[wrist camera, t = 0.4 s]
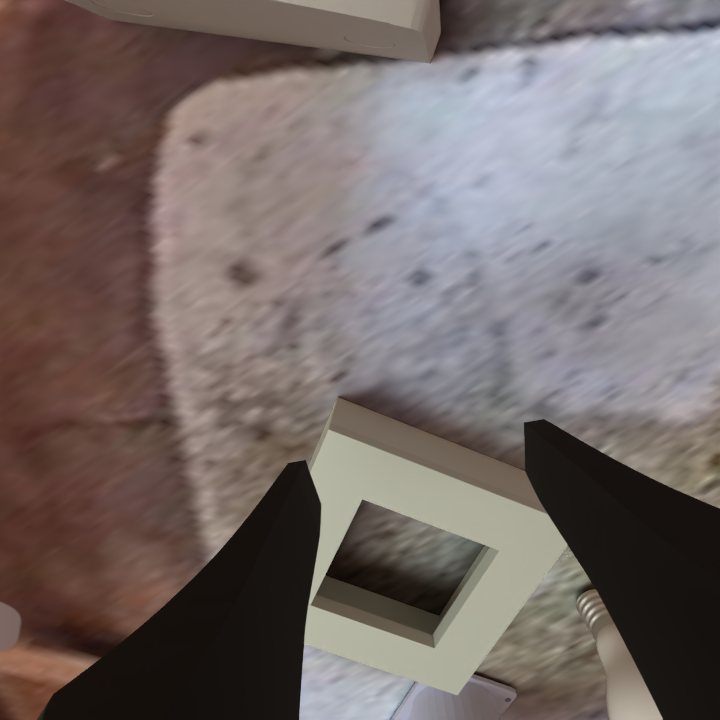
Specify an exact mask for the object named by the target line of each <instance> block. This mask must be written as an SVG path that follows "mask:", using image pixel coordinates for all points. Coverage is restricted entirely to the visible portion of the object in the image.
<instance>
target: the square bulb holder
mask: <svg viewBox="0 0 720 720" xmlns="http://www.w3.org/2000/svg"><path fill="white" fill-rule="evenodd" d="M308 469H309V471H310V474H311V477H312V480H313V482H314V485H315V488H316V491H317V493H318V496H319V499H320V502H321V527H320V538H319V545H318V551H317V557H316V563H315V569H314V575H313V581H312V587H311V593H310V599H309V605H308V611H307V618H306V626H305V638H304V644H307V645H310V646H313V647H315V648H318V649H321V650H324V651H327V652H330V653H333V654H336V655H339V656H342V657H345V658H348V659H351V660H354V661H357V662H360V663H363V664H366V665H369V666H372V667H375V668H378V669H381V670H384V671H387V672H389V673H392V674H395V675H398V676H401V677H404V678H407V679H410V680H413V681H416V682H419V683H422V684H425V685H428V686H431V687H434V688H437V689H440V690H443V691H446V692H449V693H452V694H455V695H458V694H459V692H460V691H461V690H462V688H463V687H464V686H465V684H466V683H467V682H468V680H469V679H470V678H471V676H472V675H473V673H474V672H475V671H476V669H477V668H478V667H479V665H480V664H481V663H482V661H483V660H484V658H485V657H486V656H487V654H488V653H489V652H490V650H491V649H492V648H493V646H494V645H495V644H496V642H497V641H498V639H499V638H500V637H501V635H502V634H503V633H504V631H505V630H506V629H507V627H508V626H509V625H510V623H511V622H512V620H513V619H514V618H515V616H516V615H517V614H518V612H519V611H520V610H521V608H522V607H523V605H524V604H525V603H526V601H527V600H528V599H529V597H530V596H531V595H532V593H533V592H534V591H535V589H536V588H537V586H538V585H539V584H540V582H541V581H542V580H543V578H544V577H545V576H546V574H547V573H548V571H549V570H550V569H551V567H552V566H553V565H554V563H555V562H556V561H557V559H558V558H559V557H560V555H561V554H562V552H563V551H564V550H565V548H566V547H567V546H568V545H567V543H566V542H565V540H564V538H563V537H562V535H561V534H560V532H559V531H558V529H557V528H556V526H555V525H554V523H553V522H552V520H551V518H550V517H549V515H548V514H547V512H546V511H545V509H544V507H543V506H542V504H541V503H540V501H539V499H538V497H537V495H536V493H535V491H534V489H533V487H532V485H531V483H530V481H529V479H528V476H527V474H526V471H524V470H521V469H519V468H516V467H514V466H511V465H508V464H506V463H503V462H501V461H498V460H496V459H493V458H491V457H488V456H486V455H483V454H481V453H478V452H476V451H473V450H470V449H468V448H465V447H463V446H460V445H458V444H455V443H453V442H450V441H448V440H445V439H443V438H440V437H438V436H435V435H433V434H430V433H427V432H425V431H422V430H420V429H417V428H415V427H412V426H410V425H407V424H405V423H402V422H400V421H397V420H395V419H392V418H389V417H387V416H384V415H382V414H379V413H377V412H374V411H372V410H369V409H367V408H364V407H362V406H359V405H357V404H354V403H351V402H349V401H346V400H344V399H341V398H339V397H337V399H336V402H335V404H334V406H333V409H332V411H331V414H330V416H329V418H328V421H327V423H326V425H325V428H324V430H323V433H322V435H321V437H320V440H319V442H318V444H317V447H316V449H315V452H314V454H313V456H312V459H311V461H310V463H309V466H308ZM362 499H363V500H366V501H368V502H371V503H374V504H376V505H379V506H382V507H384V508H387V509H390V510H392V511H395V512H398V513H400V514H403V515H406V516H408V517H411V518H414V519H416V520H419V521H422V522H424V523H427V524H430V525H432V526H435V527H438V528H440V529H443V530H446V531H448V532H451V533H454V534H456V535H459V536H462V537H464V538H467V539H470V540H472V541H475V542H478V543H480V544H483V545H484V547H483V549H482V550H481V552H480V553H479V555H478V556H477V558H476V559H475V561H474V562H473V564H472V566H471V567H470V569H469V570H468V572H467V573H466V575H465V576H464V578H463V580H462V581H461V583H460V584H459V586H458V587H457V589H456V590H455V592H454V593H453V595H452V597H451V598H450V600H449V601H448V603H447V604H446V606H445V607H444V609H443V610H442V612H441V614H440V615H439V616H438V615H435V614H433V613H430V612H427V611H424V610H421V609H418V608H416V607H413V606H410V605H407V604H404V603H401V602H399V601H396V600H393V599H390V598H387V597H385V596H382V595H379V594H376V593H373V592H370V591H368V590H365V589H362V588H359V587H356V586H353V585H351V584H348V583H345V582H342V581H339V580H337V579H334V578H331V577H328V576H325V574H326V572H327V570H328V568H329V566H330V564H331V562H332V560H333V558H334V556H335V554H336V552H337V550H338V548H339V546H340V544H341V542H342V540H343V538H344V536H345V534H346V532H347V530H348V528H349V526H350V524H351V521H352V519H353V517H354V515H355V513H356V511H357V509H358V507H359V505H360V503H361V501H362Z"/></svg>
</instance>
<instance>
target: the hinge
mask: <svg viewBox="0 0 720 720" xmlns="http://www.w3.org/2000/svg"><path fill="white" fill-rule="evenodd" d="M65 1H68V2H70V3H72V4H75V5H77V6H79V7H82V8H84V9H86V10H89V11H91V12H93V13H96V14H98V15H100V16H103V17H105V18H107V19H110V20H114V21H122V22H129V23H136V24H144V25H151V26H159V27H166V28H173V29H181V30H188V31H196V32H203V33H210V34H218V35H225V36H233V37H240V38H247V39H255V40H262V41H270V42H277V43H284V44H292V45H299V46H307V47H314V48H321V49H329V50H336V51H344V52H351V53H358V54H366V55H373V56H381V57H388V58H395V59H403V60H410V61H418V62H425V63H431V60H432V57H433V55H434V52H435V49H436V46H437V43H438V40H439V37H440V34H441V25H440V5H439V4H440V1H441V0H65Z"/></svg>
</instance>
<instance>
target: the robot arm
mask: <svg viewBox="0 0 720 720" xmlns="http://www.w3.org/2000/svg"><path fill="white" fill-rule="evenodd" d="M524 436H525V471H526V474H527V476H528V479H529V481H530V483H531V485H532V487H533V489H534V491H535V493H536V495H537V497H538V499H539V501H540V503H541V504H542V506H543V507H544V509H545V511H546V512H547V514H548V515H549V517H550V518H551V520H552V522H553V523H554V525H555V526H556V528H557V529H558V531H559V532H560V534H561V535H562V537H563V538H564V540H565V542H566V543H567V545H568V546H569V548H570V549H571V551H572V552H573V554H574V555H575V557H576V558H577V560H578V561H579V563H580V565H581V566H582V568H583V569H584V571H585V572H586V574H587V575H588V577H589V579H590V580H591V582H592V584H593V585H594V587H595V589H596V590H597V592H598V594H599V596H600V598H601V600H602V601H603V603H604V605H605V607H606V609H607V611H608V613H609V614H610V616H611V618H612V620H613V622H614V624H615V626H616V628H617V629H618V631H619V633H620V635H621V637H622V639H623V641H624V643H625V645H626V647H627V649H628V651H629V653H630V655H631V656H632V658H633V660H634V662H635V664H636V666H637V668H638V670H639V672H640V674H641V676H642V678H643V680H644V682H645V684H646V686H647V688H648V690H649V692H650V694H651V696H652V698H653V700H654V702H655V704H656V706H657V708H658V710H659V712H660V714H661V716H662V718H663V720H720V509H719V508H717V507H714V506H712V505H709V504H707V503H705V502H702V501H700V500H698V499H695V498H693V497H691V496H689V495H686V494H684V493H682V492H679V491H677V490H675V489H673V488H670V487H668V486H666V485H664V484H662V483H660V482H658V481H655V480H653V479H651V478H649V477H647V476H645V475H643V474H641V473H639V472H637V471H635V470H633V469H631V468H629V467H628V466H626V465H624V464H622V463H620V462H618V461H616V460H614V459H613V458H611V457H609V456H607V455H605V454H603V453H602V452H600V451H598V450H596V449H595V448H593V447H591V446H589V445H588V444H586V443H584V442H582V441H581V440H579V439H577V438H575V437H574V436H572V435H570V434H569V433H567V432H565V431H564V430H562V429H560V428H558V427H557V426H555V425H553V424H552V423H550V422H548V421H546V420H544V419H543V420H537V421H531V422H525V423H524ZM320 527H321V502H320V499H319V496H318V493H317V491H316V488H315V485H314V482H313V480H312V477H311V474H310V471H309V469H308V466H307V463H306V460H304V461H298V462H292V463H288V464H287V466H286V467H285V468H284V470H283V471H282V472H281V474H280V475H279V476H278V478H277V479H276V480H275V482H274V483H273V485H272V486H271V487H270V489H269V490H268V491H267V493H266V494H265V496H264V497H263V498H262V500H261V501H260V502H259V504H258V505H257V506H256V507H255V509H254V510H253V511H252V513H251V514H250V515H249V516H248V518H247V519H246V520H245V521H244V523H243V524H242V525H241V526H240V527H239V529H238V530H237V531H236V532H235V534H234V535H233V536H232V537H231V538H230V540H229V541H228V542H227V543H226V544H225V545H224V547H223V548H222V549H221V550H220V551H219V552H218V553H217V554H216V555H215V556H214V558H213V559H212V560H211V561H210V562H209V563H208V564H207V565H206V566H205V567H204V568H203V569H202V570H201V571H200V572H199V573H198V574H197V575H196V576H195V577H194V578H193V579H192V580H191V581H190V582H189V583H188V584H187V585H186V586H185V587H184V588H183V589H182V590H180V591H179V592H178V593H177V594H176V595H175V596H174V597H173V598H172V599H171V600H170V601H169V602H168V603H167V604H166V605H165V606H164V607H162V608H161V609H160V610H159V611H158V612H157V613H156V614H154V615H153V616H152V617H151V618H150V619H149V620H148V621H146V622H145V623H144V624H143V625H142V626H141V627H139V628H138V629H137V630H136V631H135V632H133V633H132V634H131V635H130V636H129V637H127V638H126V639H125V640H124V641H122V642H121V643H120V644H119V645H118V646H116V647H115V648H114V649H113V650H111V651H110V652H109V653H108V654H106V655H105V656H104V657H102V658H101V659H100V660H98V661H97V662H96V663H94V664H93V665H92V666H90V667H89V668H88V669H86V670H85V671H84V672H82V673H81V674H80V675H79V676H77V677H76V678H75V679H73V680H72V681H71V682H69V683H68V684H67V685H65V686H64V687H63V688H61V689H60V690H58V691H57V692H56V693H54V694H53V696H52V697H51V699H50V700H49V702H48V703H47V705H46V706H45V708H44V710H43V711H42V713H41V714H40V716H39V717H38V719H37V720H299V708H300V693H301V677H302V663H303V650H304V638H305V626H306V618H307V611H308V605H309V599H310V593H311V587H312V581H313V575H314V569H315V563H316V557H317V551H318V545H319V538H320ZM516 696H517V694H516V691H515V689H514V688H512V687H510V686H507V685H504V684H501V683H498V682H495V681H492V680H489V679H486V678H483V677H480V676H478V675H475V674H473V675H472V676H471V678H470V679H469V680H468V682H467V683H466V684H465V686H464V687H463V688H462V690H461V691H460V692H459V694H458V695H455V694H452V693H449V692H446V691H443V690H440V689H437V688H434V687H431V686H428V685H425V684H422V683H419V682H416V683H415V684H414V686H413V687H412V689H411V690H410V692H409V693H408V694H407V696H406V697H405V699H404V700H403V702H402V703H401V705H400V706H399V708H398V709H397V711H396V712H395V714H394V715H393V717H392V718H391V720H501V719H500V717H501V716H502V714H503V713H504V712H505V711H506V709H507V708H508V707H509V706H510V704H511V703H512V702H513V701H514V700H515V698H516Z"/></svg>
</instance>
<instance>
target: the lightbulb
mask: <svg viewBox="0 0 720 720" xmlns="http://www.w3.org/2000/svg"><path fill="white" fill-rule="evenodd" d="M576 608H577V610H578V612H579V614H580V615H581V617H582V619H583V621H584V622H585V623H586V626H587V627H588V629H589V630H590V632H591V634H592V635H593V638H594V639H595V641H596V644H597V650H598V654H599V657H600V659H601V662H602V664H603V667H604V670H605V675H606V704H607V711H608V717H609V720H663V718H662V716H661V714H660V712H659V710H658V708H657V706H656V704H655V702H654V700H653V698H652V696H651V694H650V692H649V690H648V688H647V686H646V684H645V682H644V680H643V678H642V676H641V674H640V672H639V670H638V668H637V666H636V664H635V662H634V660H633V658H632V656H631V655H630V653H629V651H628V649H627V647H626V645H625V643H624V641H623V639H622V637H621V635H620V633H619V631H618V629H617V628H616V626H615V624H614V622H613V620H612V618H611V616H610V614H609V613H608V611H607V609H606V607H605V605H604V603H603V601H602V600H601V598H600V596H599V594H598V592H597V590H596V589H593V590H588V591H586V592H584V593H583V594H581V595H580V596H579V598H578V599H577V602H576Z"/></svg>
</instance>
